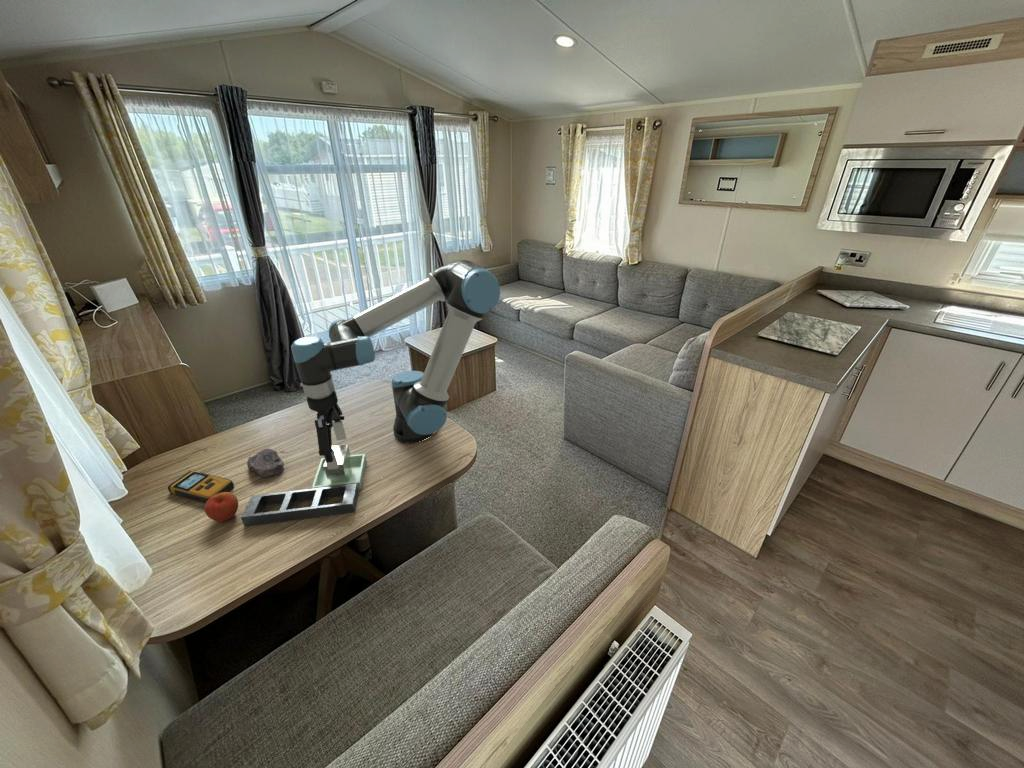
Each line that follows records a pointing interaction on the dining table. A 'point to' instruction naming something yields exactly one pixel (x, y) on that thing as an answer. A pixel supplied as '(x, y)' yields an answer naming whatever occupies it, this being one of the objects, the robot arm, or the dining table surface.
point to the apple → (221, 506)
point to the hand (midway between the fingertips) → (337, 453)
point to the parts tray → (355, 477)
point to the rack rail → (287, 513)
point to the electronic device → (199, 486)
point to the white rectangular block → (340, 465)
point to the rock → (266, 463)
